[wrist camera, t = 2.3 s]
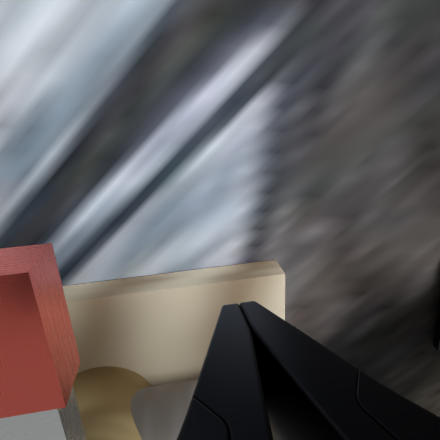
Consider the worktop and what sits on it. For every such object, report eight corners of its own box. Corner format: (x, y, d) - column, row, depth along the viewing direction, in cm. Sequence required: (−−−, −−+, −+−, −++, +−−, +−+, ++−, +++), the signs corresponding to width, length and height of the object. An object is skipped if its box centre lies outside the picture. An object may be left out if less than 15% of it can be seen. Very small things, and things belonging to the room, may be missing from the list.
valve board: (275, 259, 17) (328, 334, 11) (275, 433, 21) (315, 551, 15) (-125, 309, 15) (-299, 432, 9) (-39, 493, 19) (-123, 657, 13)
